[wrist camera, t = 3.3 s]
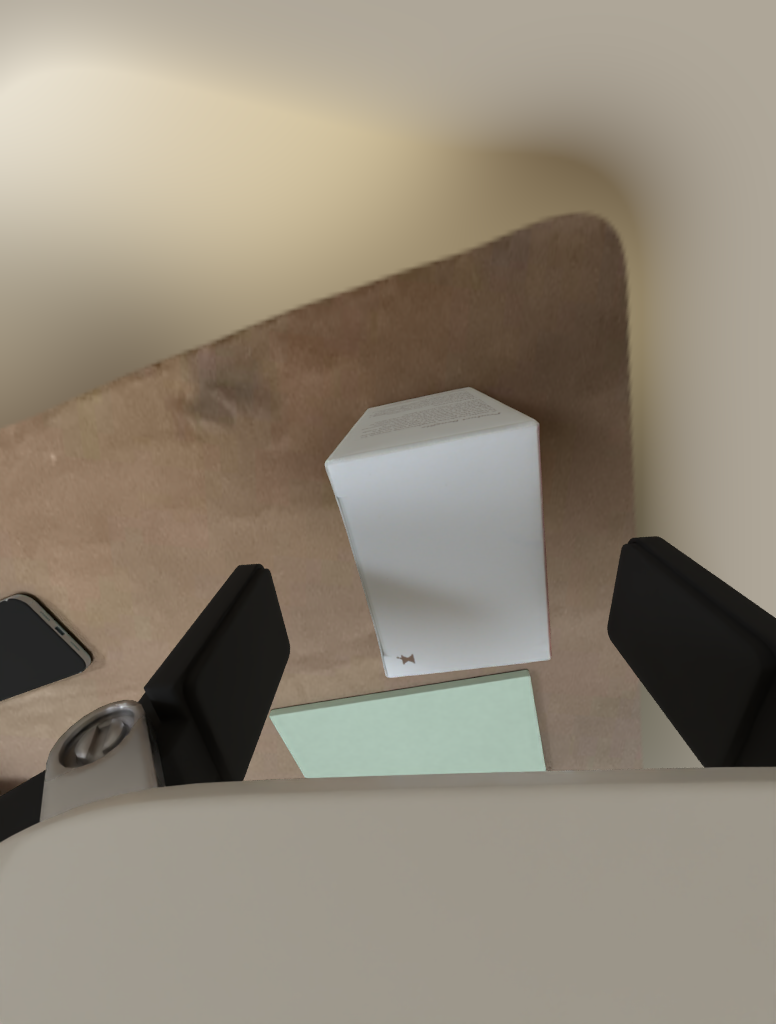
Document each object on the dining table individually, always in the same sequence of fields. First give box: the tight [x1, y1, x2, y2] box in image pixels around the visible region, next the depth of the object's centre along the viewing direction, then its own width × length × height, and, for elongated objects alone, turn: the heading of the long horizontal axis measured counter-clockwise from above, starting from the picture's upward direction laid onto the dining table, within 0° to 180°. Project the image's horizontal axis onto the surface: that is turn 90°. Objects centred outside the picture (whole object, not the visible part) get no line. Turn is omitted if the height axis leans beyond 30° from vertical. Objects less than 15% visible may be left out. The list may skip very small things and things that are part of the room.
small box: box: [325, 387, 552, 678], centre depth 15 cm, size 8×6×10 cm
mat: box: [269, 670, 546, 778], centre depth 31 cm, size 20×20×1 cm
